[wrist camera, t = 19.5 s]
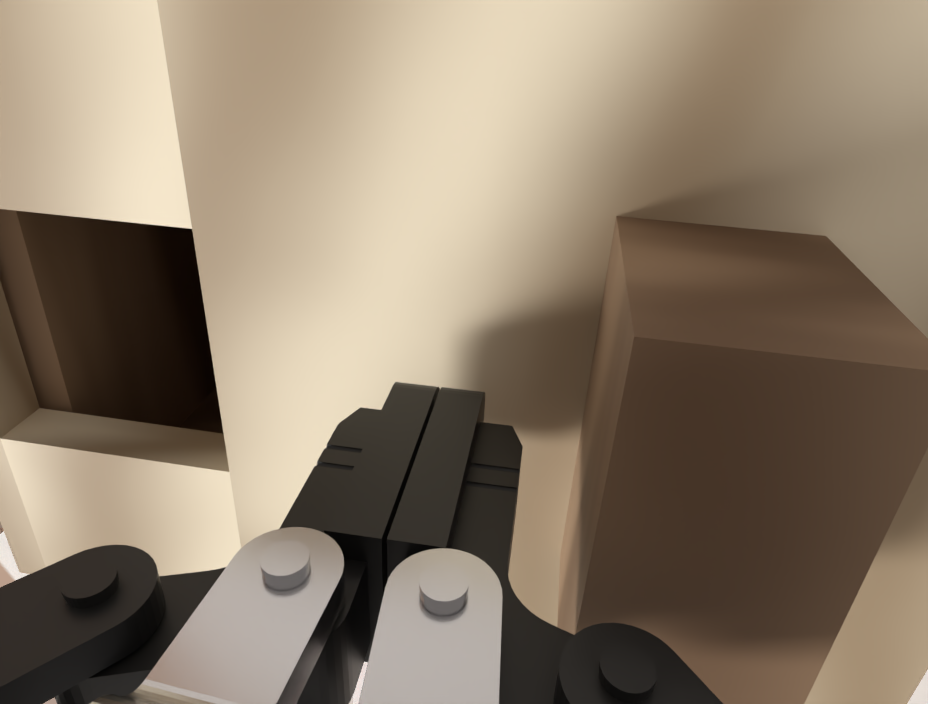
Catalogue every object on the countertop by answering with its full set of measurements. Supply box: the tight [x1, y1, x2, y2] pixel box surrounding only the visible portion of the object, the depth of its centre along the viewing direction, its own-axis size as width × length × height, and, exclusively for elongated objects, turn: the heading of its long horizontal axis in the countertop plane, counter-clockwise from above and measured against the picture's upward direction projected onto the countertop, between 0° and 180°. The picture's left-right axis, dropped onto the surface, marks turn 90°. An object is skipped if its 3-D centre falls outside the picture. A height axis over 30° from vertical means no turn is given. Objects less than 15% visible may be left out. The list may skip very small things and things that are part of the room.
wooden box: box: [0, 209, 224, 528], centre depth 17 cm, size 20×14×9 cm
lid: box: [0, 0, 928, 704], centre depth 11 cm, size 20×14×5 cm, turn 87°
